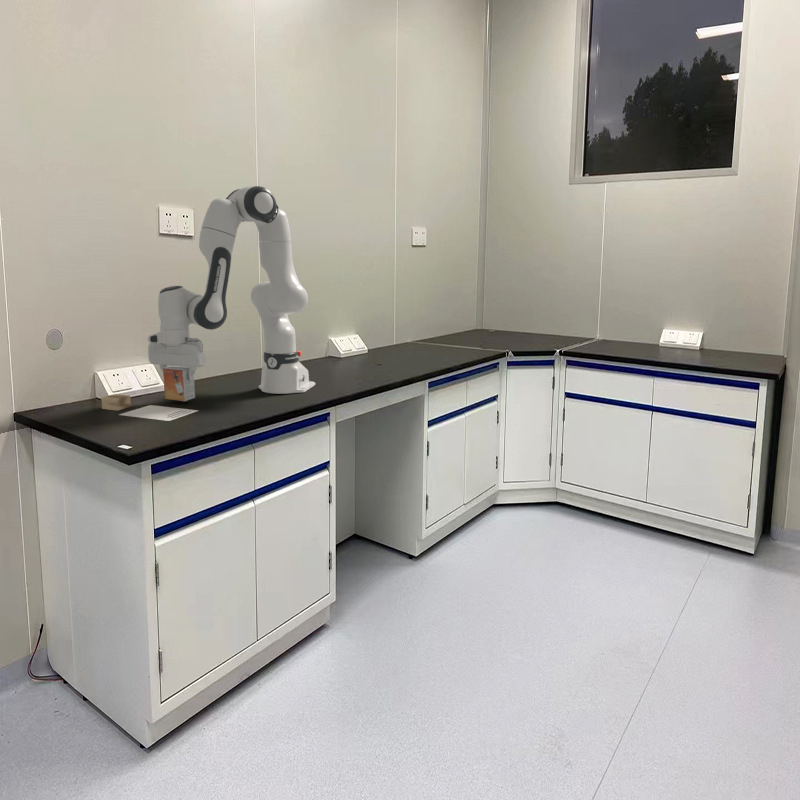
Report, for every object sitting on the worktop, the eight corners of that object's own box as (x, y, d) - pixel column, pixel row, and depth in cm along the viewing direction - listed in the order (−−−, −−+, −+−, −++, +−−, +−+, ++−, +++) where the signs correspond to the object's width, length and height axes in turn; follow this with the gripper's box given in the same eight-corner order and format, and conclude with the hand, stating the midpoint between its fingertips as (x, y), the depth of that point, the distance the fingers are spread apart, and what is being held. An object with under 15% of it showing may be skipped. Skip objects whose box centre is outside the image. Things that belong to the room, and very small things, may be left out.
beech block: (116, 406, 213) (115, 394, 212) (131, 407, 211) (130, 395, 210) (102, 410, 208) (101, 397, 207) (117, 411, 206) (116, 399, 205)
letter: (150, 405, 213) (150, 404, 213) (198, 411, 207) (198, 410, 207) (118, 415, 201) (118, 414, 200) (168, 421, 194) (168, 420, 194)
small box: (164, 399, 216) (162, 368, 213) (176, 395, 221) (173, 365, 218) (185, 401, 213) (182, 369, 210) (195, 397, 218) (193, 366, 215)
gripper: (208, 337, 211) (211, 379, 214) (156, 334, 218) (160, 375, 221) (195, 340, 205) (198, 383, 209) (143, 336, 212) (147, 378, 216)
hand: (178, 378), depth 215 cm, fingers closed on small box, 8 cm apart
